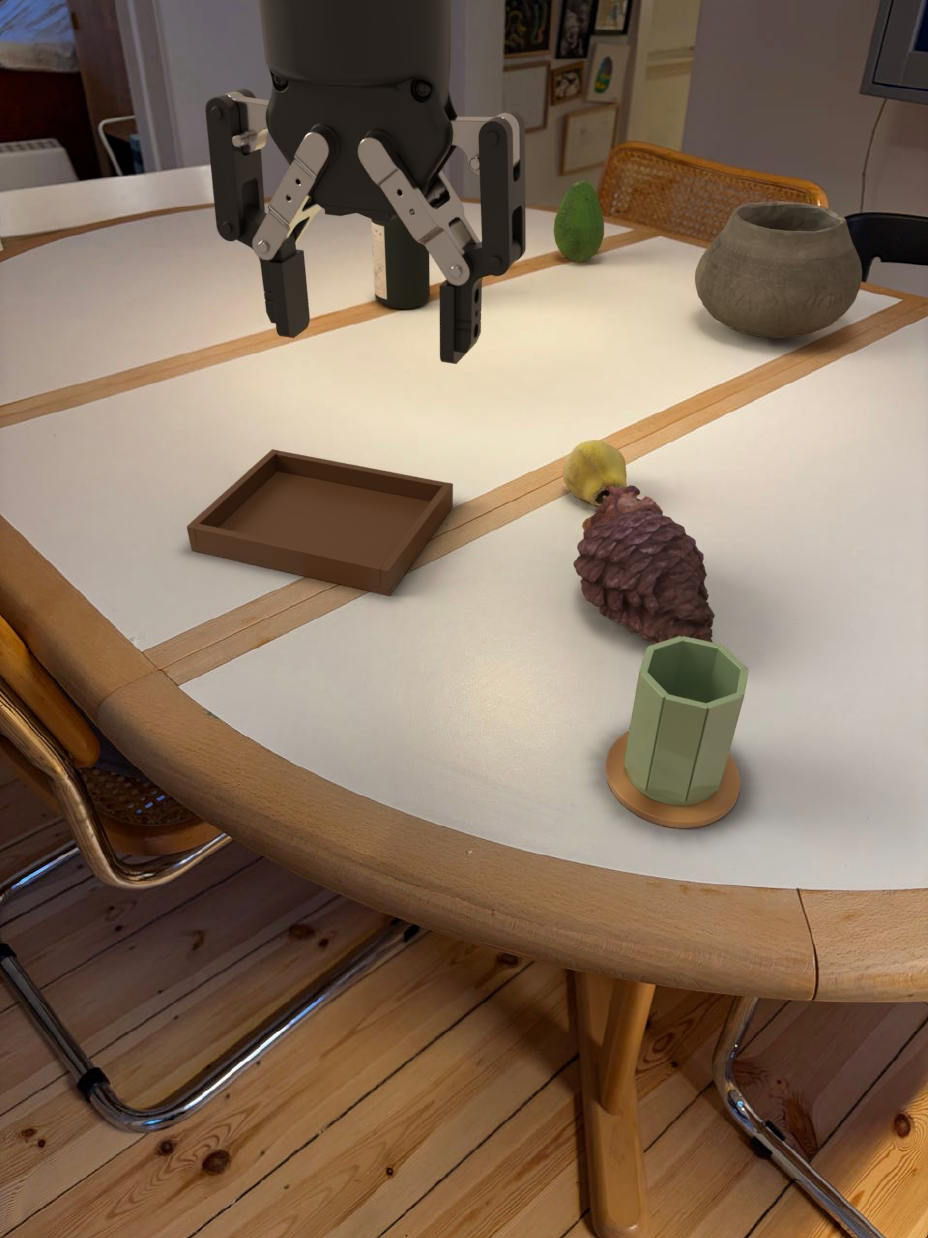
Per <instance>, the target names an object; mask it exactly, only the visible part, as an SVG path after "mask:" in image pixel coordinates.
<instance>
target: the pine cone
mask: <svg viewBox="0 0 928 1238" xmlns="http://www.w3.org/2000/svg"><path fill="white" fill-rule="evenodd" d="M605 489H606V490H608V491H609V493H610V495H609V496H608V497H605V498H604V499H603V504H602V505H600V506H599V505H597V506H598V507H597V509H596V511H595V512H594V514H593V515H591V516H589V517H587V518H586V519H585V520H584V521H583V522H582V525H581V528H582V529H583V532H582V534H583V535H582V539H581V540H580V541H579V542H578V543H577V546H576V549H577V551H578V554H579V555H578V556H577V557H576V559H575V560H574V561H573V563H572V565H573V568H574V569H575V572H576V574H577V576H579V577H580V578H581V579H580V581H579V583H580V585H581V586H580V590H581V592H582V595H583V597H584V599H585V600H586V601H587V602H589V603H591V604H592V605H593V606H594V607H596V608H597V607H598V610H599V614H600V615H601V616H603V617H604V618H608V619H609V620H615V621H617V623H618V624H620V625H624V626H625V627H626V628H627V630H628V631H629V632H630V633H631V634H639V635H640V636H641V638H643V639H645V640H649V641H650V642H651V643H652V645H654V644H657V643H660V642H663V641H666V640H669V639H672V638H676V637H679V636H681V637H682V636H685V637H690V638H694V639H699V640H703V641H708V642H712V643H714V642H713V639H712V638H713V637H714V635H713V629H712V627H713V625H714V618H715V617H716V615H715V613H714V611H713V610H712V608H711V607H710V604H709V602H708V600H709V597H710V595H709V593H708V589H707V587H706V585H705V581H706V578H707V576H708V574H707V572H706V566H705V564H704V560H705V558H704V557H705V556H704V553H702V551H701V550H700V549H699V548H698V546H697V541H696V539H695V538H694V537H692V536H691V535H688V534H687V533H686V529H685V527H684V526H683V525H681V524H679V523H677V522H676V521H674V520H673V519H672V518H671V517H670V516H667V515H664V511H663V510H662V508H661V506H660V505H658V503H657V502H656V501H655V500H654V499H653V498H651V497H650V496H647V495H644V496H643V498H642V499H640V498H638V496H640V494H641V490H640V489H639V488H638V487H637V486H636V485H632V484H631V485H627V487H623V488H620V489H618V488H615V487H613V486H610V485H606V487H605Z"/></svg>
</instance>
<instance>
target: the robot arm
mask: <svg viewBox="0 0 928 1238" xmlns="http://www.w3.org/2000/svg"><path fill="white" fill-rule="evenodd" d="M258 3H259V13H260V14H259V15H260V24H261V33H262V43H263V53H264V61H265V64H266V67H267V68H268V71H269V74H270V77H271V92H270V97H269V100H268V99H262V98H257V97H256V96H255V94H254V93H253V92H252V91H251V90H249V89H247V88H241V89H237V90H234V91H230V92H227V93H223V94H220V95H217V96H213V97H211V98H209V99H208V100H207V101H206V104H205V109H204V110H205V122H206V131H207V141H208V152H209V162H210V164H209V165H210V173H211V184H212V193H213V194H212V195H213V204H214V215H215V227H216V231H217V233H218V234H219V236H220V237H221V238H222V239H223V240H225V241H227V242H235V241H237V242H240V243H242V244H244V245H246V246H247V247H249V248H250V249H252V250H253V252H254V254H255V255H256V256H257V258H258V259H259V264H260V272H261V281H262V288H263V296H264V298H263V299H264V300H265V301H264V305H265V306H264V307H265V313H266V315H267V317H268V319H269V321H270V324H275V329H276V334H277V336H280V337H283V338H289V339H294V338H296V337H298V336H299V335H300V334H302V333H303V332H304V331H305V330H307V329H308V328H309V325H310V321H311V317H310V314H311V313H310V305H309V304H310V303H309V293H308V282H307V281H308V280H307V272H306V260H305V250H304V249H297V245H298V243H299V242H300V240H301V238H302V236H303V235H304V234H305V232H306V231H307V228H308V227H309V225H310V224H311V222H312V221H313V219H314V218H315V216H316V214H318V213H319V212H320V211H321V209H323V210H324V215H327V216H328V215H329V216H334V217H335V216H337V217H343V216H348V215H353V214H358V215H361V216H363V217H366V218H368V219H370V220H371V219H372V220H379V221H387V222H390V221H391V220H393V219H394V218H396V217H399V216H400V218H401V220H402V221H403V223H404V224H405V226H406V227H407V229H408V230H409V232H410V233H411V235H412V237H413V238H414V239H415V240H416V241H417V242H418V243H420V244H423V245H424V246H425V247H426V248H427V250H428V251H429V256H431V258H432V259H433V261H434V262H435V264H436V265H437V267H438V269H439V270H440V272H441V274H442V275H443V276H444V278H445V280H444V281H443V282H442V283H440V284H439V289H438V290H439V296H438V297H439V361H440V362H441V363H445V364H453V365H457V364H458V363H460V361H461V360H462V359H463V357H465V356H466V354H468V352H470V350H471V349H472V348H473V347H474V346H475V345H476V344H477V343H478V340H479V338H480V336H481V334H482V302H483V301H482V300H483V299H482V297H483V295H482V293H483V279H484V278H487V277H490V276H492V277H500V276H503V275H504V274H506V273H507V272H508V271H509V270H510V269H511V268H512V266H513V265H514V264H515V263H516V262H517V261H519V260H520V259H521V258H522V257H523V256H524V255H525V252H526V248H527V247H526V245H527V242H526V241H527V237H526V232H527V231H526V225H527V224H526V125H525V120H524V118H523V116H522V115H521V114H520V112H519V113H518V112H517V111H515V110H507V111H504V112H502V113H499V114H498V115H496V116H459V115H458V113H457V110H456V109H455V106H454V103H453V100H452V97H451V96H452V95H451V90H450V79H451V66H452V65H451V64H452V63H451V62H452V61H451V60H452V58H451V57H452V55H451V54H452V47H451V46H452V44H451V43H452V42H451V41H452V38H451V37H452V0H258ZM268 135H269V136H270V137H271V139H272V141H273V143H274V144H275V145H276V147H277V149H278V150H279V151H280V153H281V155H282V156H283V157H284V159H285V161H286V162H287V164H288V166H289V167H288V169H287V170H286V173H285V174H284V176H283V178H282V180H281V182H280V183H279V185H278V187H277V189H276V191H275V192H274V194H273V196H272V198H271V200H269V203H268V205H267V208H268V211H267V212H266V208H265V193H264V176H263V164H262V163H263V161H262V149H263V148H264V147H265V146H266V144H267V141H268ZM457 148H459V149H460V150H461V151H462V152H463V153H464V155H465V158H466V163H467V167H468V169H469V170H470V172H471V173H472V174H473V175H475V176H477V177H479V189H480V190H479V198H480V220H481V221H480V223H481V225H480V227H481V240H480V239H479V237H478V236H477V234H476V233H475V230H474V229H473V228H472V226H471V224H470V222H469V221H468V219H467V218H466V215H465V209H464V205H463V203H462V201H461V199H460V198H459V196H458V193H456V191H455V189H454V188H453V186H452V185H451V183H450V181H449V180H448V178H447V177H446V175H445V173H444V172H443V168H444V167H445V165H446V164H447V163H448V161H449V159H450V158H451V156H452V154H453V153H454V151H456V149H457Z"/></svg>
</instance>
